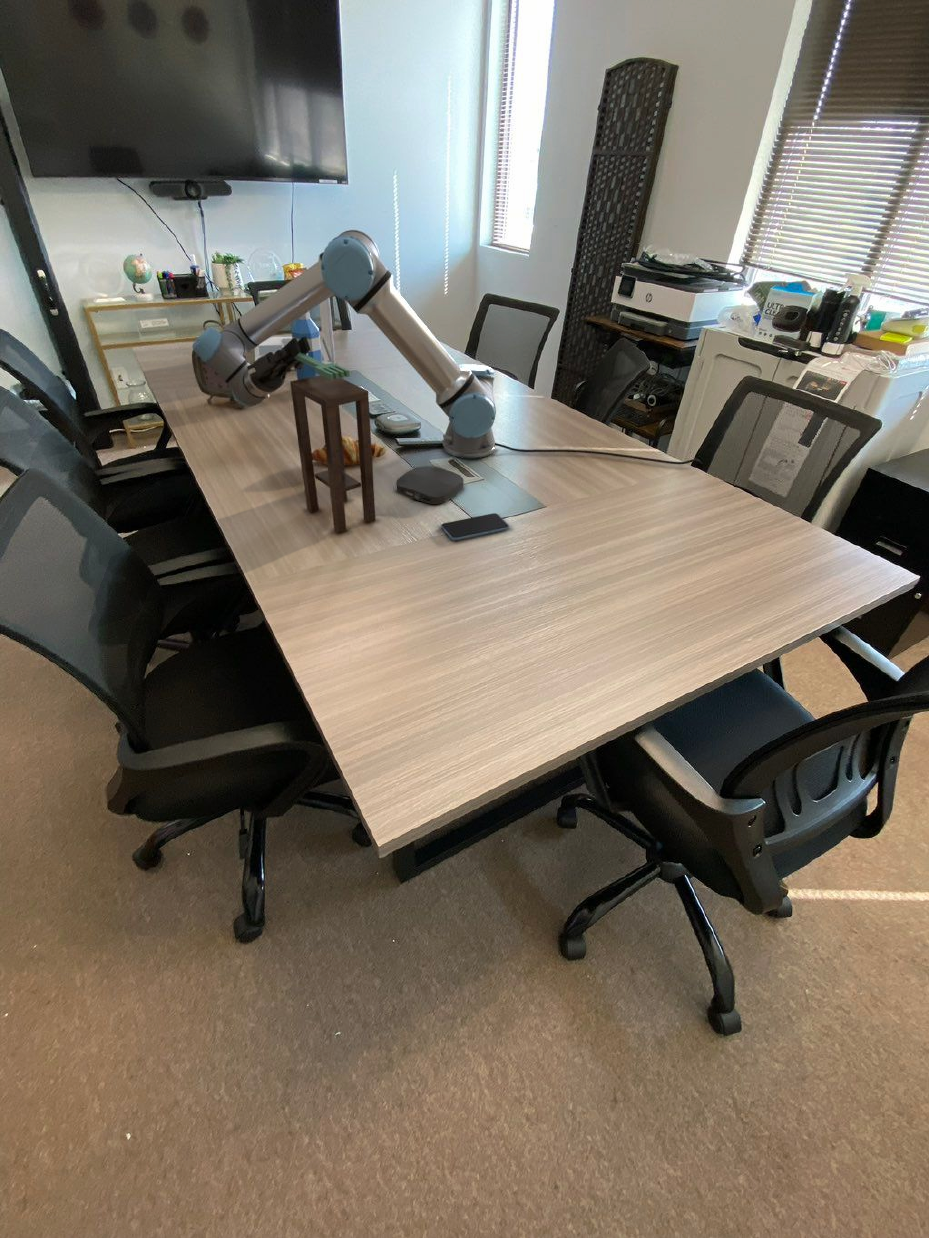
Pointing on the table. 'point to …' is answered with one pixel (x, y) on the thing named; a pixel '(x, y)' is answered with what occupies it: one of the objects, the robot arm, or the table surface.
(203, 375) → the tabletop clock
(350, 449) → the croissant
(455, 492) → the media streaming box
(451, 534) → the smartphone
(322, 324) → the laptop
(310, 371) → the water bottle
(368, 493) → the plant stand
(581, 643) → the table surface
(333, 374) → the fork
